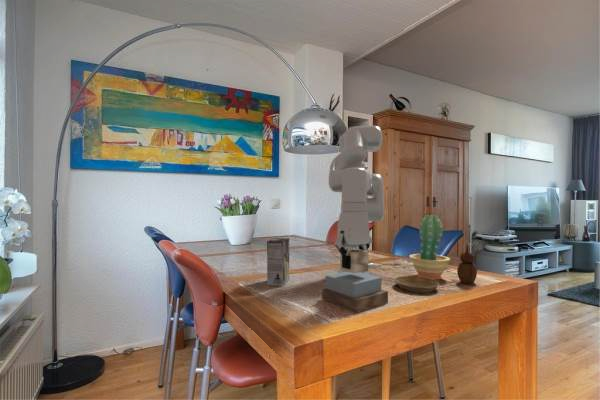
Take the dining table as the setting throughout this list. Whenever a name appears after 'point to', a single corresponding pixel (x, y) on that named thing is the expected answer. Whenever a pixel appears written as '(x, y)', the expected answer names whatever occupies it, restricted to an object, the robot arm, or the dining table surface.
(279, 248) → the coffee box
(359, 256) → the maple cube
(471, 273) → the wooden figurine
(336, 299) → the tower bottom
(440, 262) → the potted cactus
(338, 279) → the tower top
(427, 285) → the plant saucer
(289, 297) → the dining table surface
